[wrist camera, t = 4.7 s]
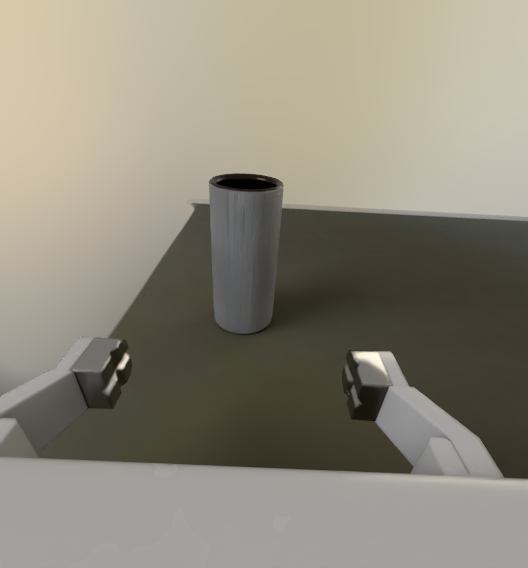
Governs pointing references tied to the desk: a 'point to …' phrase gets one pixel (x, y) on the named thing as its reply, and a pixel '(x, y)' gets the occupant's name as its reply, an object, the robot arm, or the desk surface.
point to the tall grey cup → (244, 249)
